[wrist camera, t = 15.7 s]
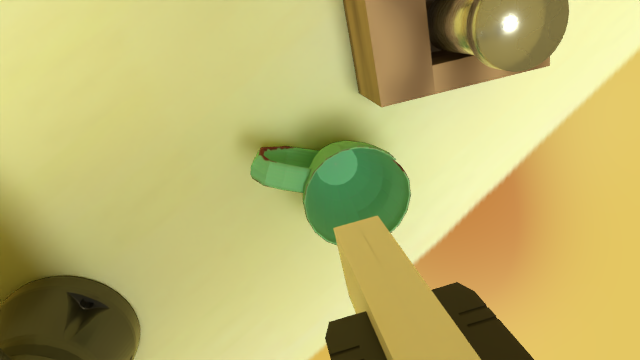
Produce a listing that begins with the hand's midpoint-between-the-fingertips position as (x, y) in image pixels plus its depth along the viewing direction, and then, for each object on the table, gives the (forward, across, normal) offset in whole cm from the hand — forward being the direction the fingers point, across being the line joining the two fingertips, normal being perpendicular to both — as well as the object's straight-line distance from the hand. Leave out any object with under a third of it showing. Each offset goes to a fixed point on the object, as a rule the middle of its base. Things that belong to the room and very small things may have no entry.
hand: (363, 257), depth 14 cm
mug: (+32, +2, -7) cm, 33 cm away
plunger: (+26, +16, +4) cm, 31 cm away
